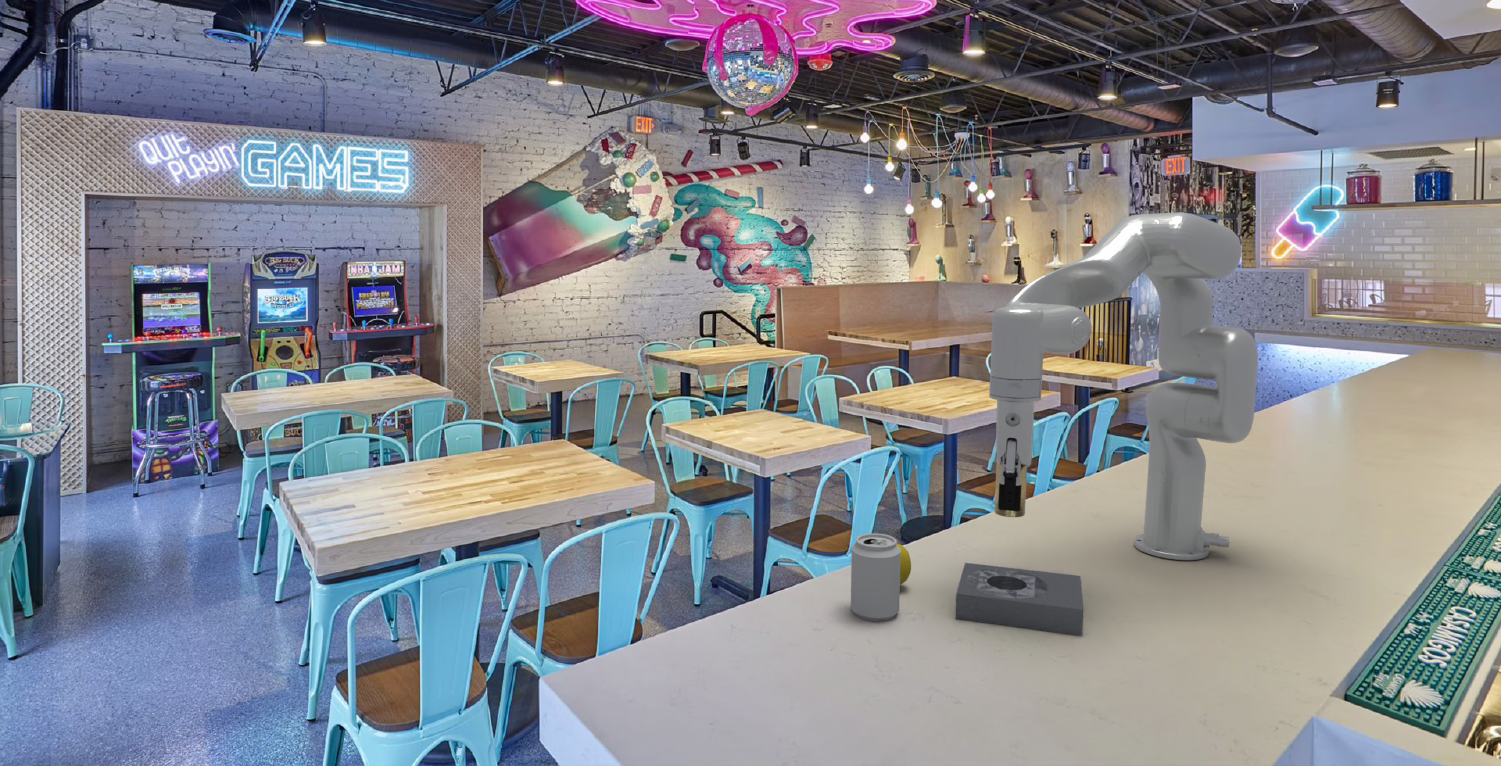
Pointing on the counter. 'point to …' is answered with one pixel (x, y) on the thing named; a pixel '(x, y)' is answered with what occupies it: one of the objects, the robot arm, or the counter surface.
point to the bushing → (1023, 492)
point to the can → (875, 577)
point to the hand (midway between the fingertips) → (1009, 504)
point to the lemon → (904, 564)
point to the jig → (1020, 598)
